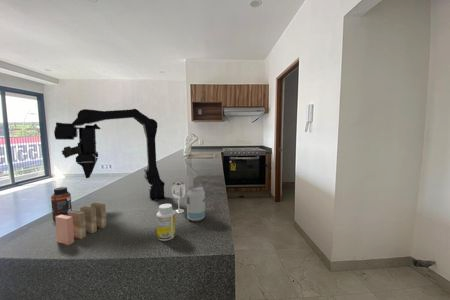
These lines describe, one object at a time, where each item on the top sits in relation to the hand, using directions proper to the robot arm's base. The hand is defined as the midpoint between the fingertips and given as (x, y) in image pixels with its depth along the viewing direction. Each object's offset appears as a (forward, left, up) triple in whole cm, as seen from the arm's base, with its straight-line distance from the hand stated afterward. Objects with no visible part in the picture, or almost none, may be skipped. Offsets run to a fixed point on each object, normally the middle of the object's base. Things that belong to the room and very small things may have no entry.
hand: (88, 176), depth 83 cm
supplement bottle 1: (+9, +3, -15) cm, 18 cm away
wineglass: (-33, +21, -15) cm, 42 cm away
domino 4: (-5, +20, -15) cm, 25 cm away
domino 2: (+1, +25, -15) cm, 29 cm away
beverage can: (-37, +31, -15) cm, 51 cm away
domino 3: (-2, +23, -15) cm, 27 cm away
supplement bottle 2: (-24, +39, -15) cm, 48 cm away
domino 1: (+3, +28, -15) cm, 32 cm away
